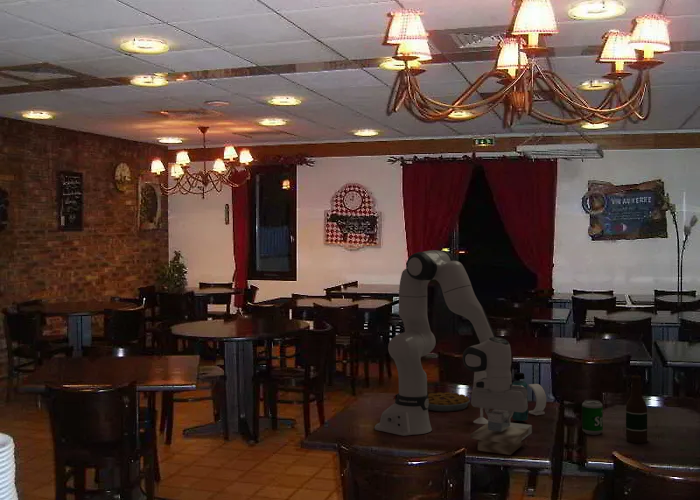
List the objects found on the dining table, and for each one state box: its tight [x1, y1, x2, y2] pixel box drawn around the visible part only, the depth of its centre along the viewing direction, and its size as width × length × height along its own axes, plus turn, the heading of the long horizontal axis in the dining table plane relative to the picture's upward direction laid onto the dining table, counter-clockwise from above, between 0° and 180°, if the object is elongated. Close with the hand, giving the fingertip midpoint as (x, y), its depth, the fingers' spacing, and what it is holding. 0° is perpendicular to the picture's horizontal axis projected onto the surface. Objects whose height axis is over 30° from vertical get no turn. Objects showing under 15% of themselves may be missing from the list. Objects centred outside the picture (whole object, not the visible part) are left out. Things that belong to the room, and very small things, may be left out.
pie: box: [427, 391, 471, 412], centre depth 347 cm, size 22×22×5 cm
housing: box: [487, 409, 511, 432], centre depth 282 cm, size 9×5×6 cm, turn 150°
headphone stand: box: [527, 383, 547, 416], centre depth 331 cm, size 5×6×12 cm
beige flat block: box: [509, 422, 533, 442], centre depth 300 cm, size 14×12×3 cm
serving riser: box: [469, 423, 528, 456], centre depth 282 cm, size 16×16×6 cm
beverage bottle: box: [511, 372, 529, 422], centre depth 317 cm, size 6×7×20 cm
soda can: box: [581, 399, 604, 436], centre depth 301 cm, size 8×8×12 cm
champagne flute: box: [472, 371, 488, 425], centre depth 319 cm, size 7×7×24 cm
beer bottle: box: [625, 374, 648, 444], centre depth 289 cm, size 8×8×24 cm
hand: (499, 421), depth 282 cm, fingers closed on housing, 5 cm apart
